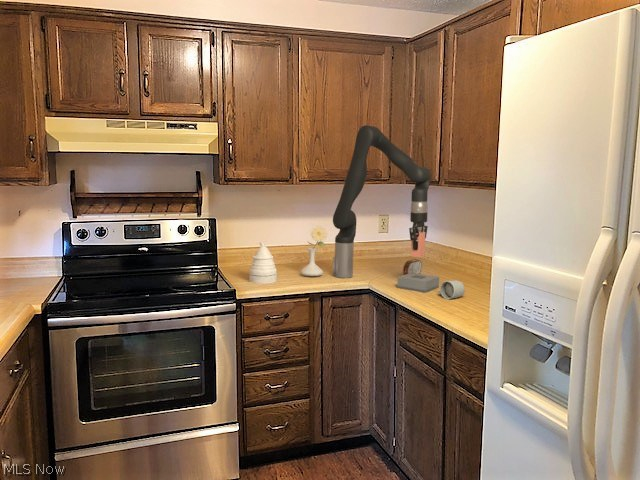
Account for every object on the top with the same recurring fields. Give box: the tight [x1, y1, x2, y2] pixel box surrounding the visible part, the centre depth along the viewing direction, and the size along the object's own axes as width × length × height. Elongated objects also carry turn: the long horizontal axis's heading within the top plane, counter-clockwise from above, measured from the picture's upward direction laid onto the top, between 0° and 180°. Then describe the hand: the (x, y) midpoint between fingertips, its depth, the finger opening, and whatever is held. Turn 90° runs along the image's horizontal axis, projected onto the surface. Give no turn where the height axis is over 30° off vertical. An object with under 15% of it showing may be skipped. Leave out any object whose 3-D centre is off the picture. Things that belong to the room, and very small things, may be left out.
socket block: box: [396, 273, 440, 294], centre depth 245 cm, size 14×14×5 cm
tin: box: [402, 258, 423, 275], centre depth 271 cm, size 15×3×8 cm, turn 141°
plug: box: [410, 232, 426, 258], centre depth 242 cm, size 4×4×14 cm
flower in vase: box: [300, 226, 328, 277], centre depth 266 cm, size 13×11×25 cm
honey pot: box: [249, 241, 278, 285], centre depth 253 cm, size 13×13×18 cm
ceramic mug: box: [438, 279, 466, 300], centre depth 228 cm, size 11×8×8 cm
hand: (418, 248), depth 243 cm, fingers closed on plug, 4 cm apart
